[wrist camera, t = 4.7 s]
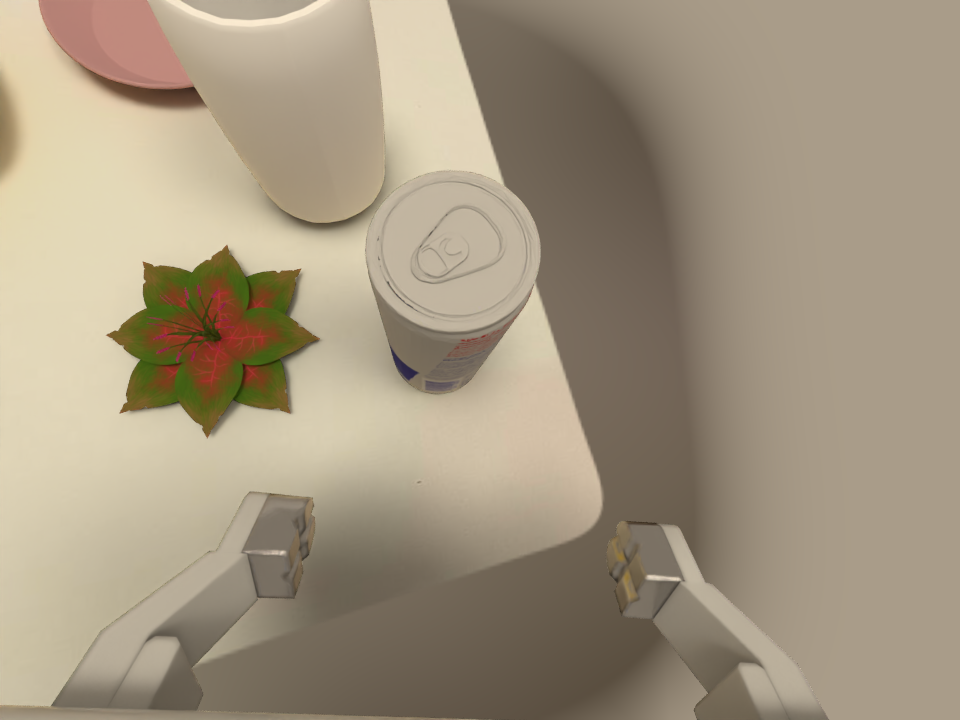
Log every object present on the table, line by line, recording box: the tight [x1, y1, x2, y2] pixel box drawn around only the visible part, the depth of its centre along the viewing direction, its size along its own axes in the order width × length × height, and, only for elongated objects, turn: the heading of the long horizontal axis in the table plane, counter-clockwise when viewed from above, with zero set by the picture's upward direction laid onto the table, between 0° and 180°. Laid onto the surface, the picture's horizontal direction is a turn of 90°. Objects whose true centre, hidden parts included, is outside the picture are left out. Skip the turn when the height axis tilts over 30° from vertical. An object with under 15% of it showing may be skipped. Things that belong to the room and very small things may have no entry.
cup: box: [147, 0, 385, 223], centre depth 22 cm, size 8×8×14 cm
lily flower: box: [106, 245, 320, 438], centre depth 24 cm, size 12×12×5 cm
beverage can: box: [365, 170, 540, 394], centre depth 21 cm, size 6×6×15 cm
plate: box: [39, 0, 194, 89], centre depth 29 cm, size 14×14×2 cm
